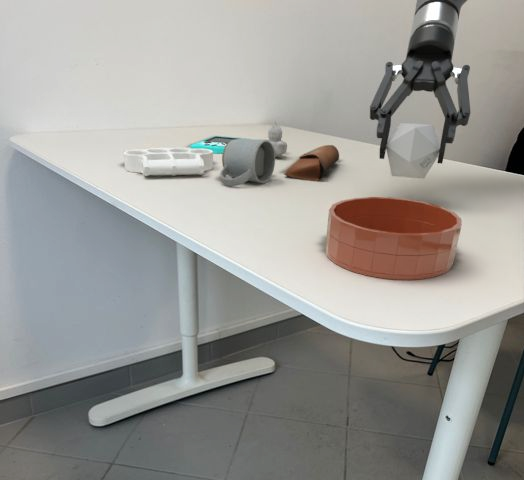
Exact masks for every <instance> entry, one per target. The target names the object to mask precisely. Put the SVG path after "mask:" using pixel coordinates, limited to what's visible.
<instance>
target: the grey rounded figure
mask: <svg viewBox="0 0 524 480" xmlns="http://www.w3.org/2000/svg"><path fill="white" fill-rule="evenodd" d="M267 137H268V139H267V140H268V141H270V142H271V144H272V145H273V148H274V152H275V158H280V157H282V156H283V155H285V154H286V153H287V150H288V144H287V142H285V141H284V140H282V139H283V129H282V128H281V125H280V124H277V122H276V120H274V121H273V124H271V126H270V128H269V130H268V134H267Z"/></svg>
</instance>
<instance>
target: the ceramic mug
mask: <svg viewBox="0 0 524 480" xmlns="http://www.w3.org/2000/svg"><path fill="white" fill-rule="evenodd" d="M268 140H269V139H254V138H253V139H252V138H244V139H235V140H232V141H230V142H228V143H227V145H226V146H225V148H224V151H223V153H222V157H221V164H222V167H223V168H222V169H221V170H220V172H219V177H220V180H221V183H222V184H223V185H225V186H227V187H237V186H241V185H243V184H245V183H247V182H252V183H258V184H266V183H267V182H268V181H269V180H270V179H271V178H272V176H273V173H274V170H275V167H276V166H275V165H276V157H275V152H274V148H273V145H272V144H271V142H270V141H268ZM227 176H228V177H231V178H226V177H227Z"/></svg>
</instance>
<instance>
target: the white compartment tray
mask: <svg viewBox="0 0 524 480" xmlns="http://www.w3.org/2000/svg"><path fill="white" fill-rule="evenodd" d="M123 163H124V170H125V171H126V172H130V173H137V174H142V176H144V177H150V176H182V175H190V176H191V175H199V176H202V175H204V174H205V172H207V171H210V170H213V169H214V153H213V151H212V150H209V149H202V148H200V149H190V147H189V148H187V147H151V148H144V149H142V148H141V149H127V150H125V151H124V152H123Z"/></svg>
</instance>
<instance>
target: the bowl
mask: <svg viewBox="0 0 524 480" xmlns="http://www.w3.org/2000/svg"><path fill="white" fill-rule="evenodd" d="M327 215H328V216H327V225H326V227H327V228H326V237H325V254H326V256H327V258H328V259H329V260H330V261H331V262H332V263H333V264H334V265H337V266H338V267H341V269H342V268H343V269H345V270H347V271H349V272H353V273H356V274H360V275H363V276H368V277H373V278H377V279H378V278H379V279H386V280H399V281H413V280H414V281H415V280H425V279H430V278H431V279H432V278H436V277H439V276H441V275H444V274H446V273H448V272H449V271H450V270H451V268H452V267H453V263H454V262H455V256H456V253H457V248H458V243H459V239H460V234H461V230H462V225H463V222H462V221H463V220H462V217H460V216H459V215H458V214H457V213H456V212H454V211H452V210H450V209H447V208H445V207H443V206H440V205H436V204H433V203H429V202H427V201H426V202H425V201H421V200H415V199H409V198H400V197H389V196H365V197H353V198H349V199H343V200H340V201H337V202H335V203H333V204H332V205H331V206H330V208H329V209H328V214H327Z"/></svg>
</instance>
